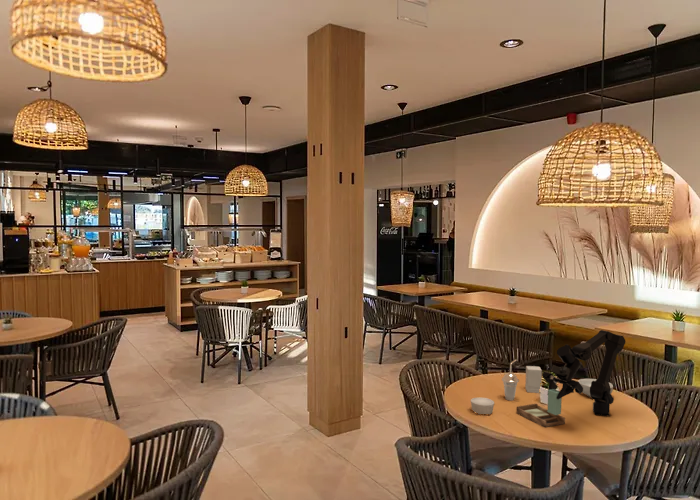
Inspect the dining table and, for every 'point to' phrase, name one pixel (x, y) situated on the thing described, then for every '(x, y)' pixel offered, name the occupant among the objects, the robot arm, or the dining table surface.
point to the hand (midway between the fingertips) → (552, 397)
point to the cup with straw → (510, 384)
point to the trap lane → (540, 415)
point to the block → (554, 402)
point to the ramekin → (482, 405)
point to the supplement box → (533, 379)
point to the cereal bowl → (589, 385)
